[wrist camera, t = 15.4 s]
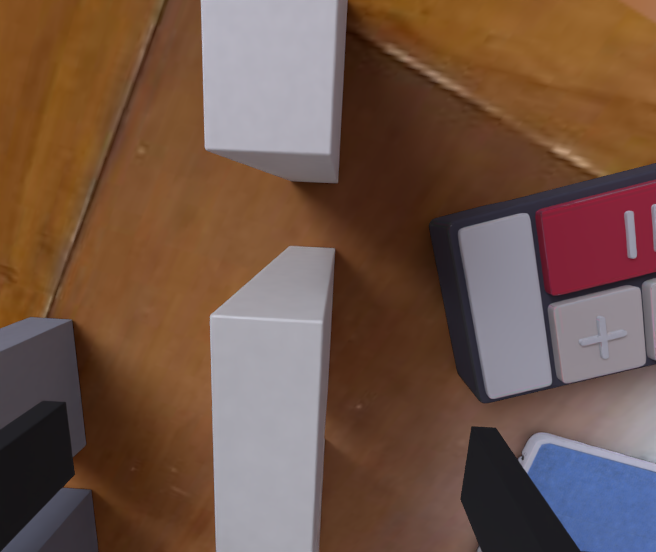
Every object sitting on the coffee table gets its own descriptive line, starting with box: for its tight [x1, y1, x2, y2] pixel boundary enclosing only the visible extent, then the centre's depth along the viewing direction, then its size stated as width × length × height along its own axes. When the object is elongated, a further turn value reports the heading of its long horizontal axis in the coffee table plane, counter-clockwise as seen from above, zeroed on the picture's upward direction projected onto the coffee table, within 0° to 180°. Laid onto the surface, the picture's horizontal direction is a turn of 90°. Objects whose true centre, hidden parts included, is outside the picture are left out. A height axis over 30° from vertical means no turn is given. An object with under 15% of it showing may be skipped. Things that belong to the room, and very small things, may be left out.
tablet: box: [477, 432, 656, 552], centre depth 26 cm, size 19×13×1 cm, turn 75°
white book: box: [210, 246, 335, 552], centre depth 17 cm, size 10×3×14 cm, turn 177°
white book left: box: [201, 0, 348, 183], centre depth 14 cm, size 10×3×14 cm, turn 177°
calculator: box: [429, 163, 656, 403], centre depth 21 cm, size 11×4×15 cm
